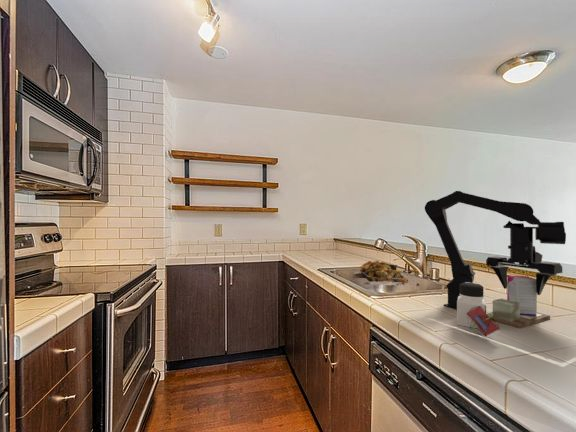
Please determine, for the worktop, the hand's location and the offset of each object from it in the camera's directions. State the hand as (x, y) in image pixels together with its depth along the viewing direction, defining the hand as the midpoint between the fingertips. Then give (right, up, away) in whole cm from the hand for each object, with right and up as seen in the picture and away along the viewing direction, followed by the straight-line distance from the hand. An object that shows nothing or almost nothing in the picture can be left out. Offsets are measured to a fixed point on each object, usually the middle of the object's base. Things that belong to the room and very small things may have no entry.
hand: (521, 291), depth 95 cm
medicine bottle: (-20, -8, -7) cm, 23 cm away
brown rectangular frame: (-3, -8, -1) cm, 9 cm away
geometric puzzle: (-22, -8, -16) cm, 29 cm away
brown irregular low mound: (-25, -10, +61) cm, 66 cm away
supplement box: (0, -7, 0) cm, 7 cm away
